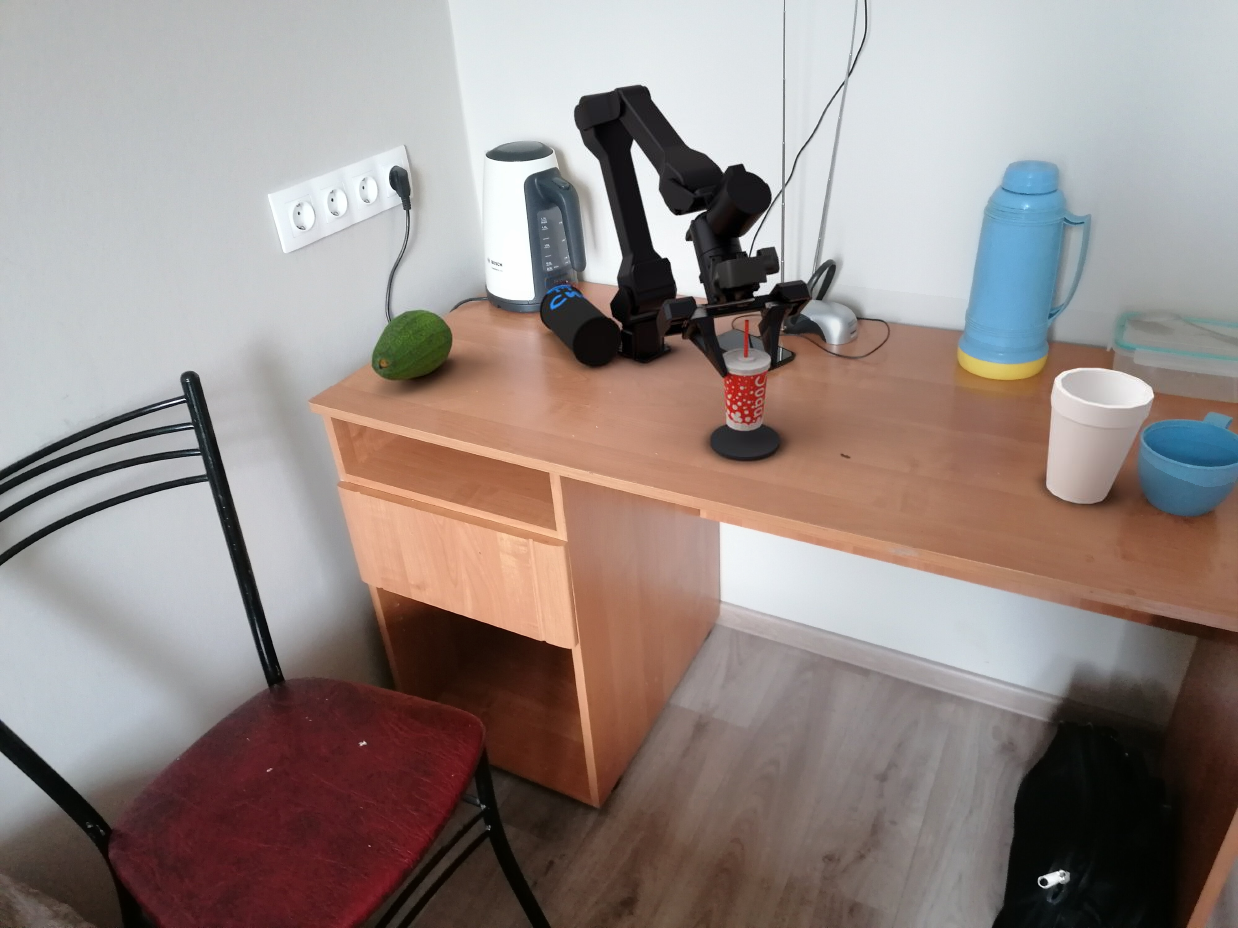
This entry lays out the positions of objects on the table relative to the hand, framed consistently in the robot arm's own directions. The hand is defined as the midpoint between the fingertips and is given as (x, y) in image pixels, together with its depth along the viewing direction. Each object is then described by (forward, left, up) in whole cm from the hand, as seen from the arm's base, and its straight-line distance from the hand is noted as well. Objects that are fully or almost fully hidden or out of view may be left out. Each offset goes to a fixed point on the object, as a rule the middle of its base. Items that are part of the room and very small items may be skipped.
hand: (749, 372), depth 104 cm
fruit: (+17, -53, -11) cm, 57 cm away
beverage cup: (-1, -1, -8) cm, 8 cm away
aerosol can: (-4, -33, -7) cm, 33 cm away
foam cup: (-17, +34, -11) cm, 40 cm away
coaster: (-1, -1, -11) cm, 11 cm away
